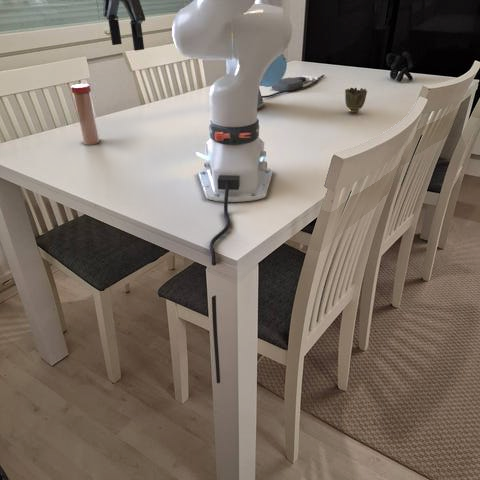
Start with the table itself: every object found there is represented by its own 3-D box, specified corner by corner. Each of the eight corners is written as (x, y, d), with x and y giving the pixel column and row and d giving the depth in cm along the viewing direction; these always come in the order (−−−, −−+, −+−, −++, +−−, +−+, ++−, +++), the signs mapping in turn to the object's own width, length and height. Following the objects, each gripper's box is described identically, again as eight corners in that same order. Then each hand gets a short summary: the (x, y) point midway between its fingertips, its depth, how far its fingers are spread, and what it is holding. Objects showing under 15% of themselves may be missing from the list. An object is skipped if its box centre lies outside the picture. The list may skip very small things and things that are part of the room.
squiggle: (400, 92, 202) (376, 71, 205) (417, 76, 202) (392, 56, 205) (405, 81, 191) (380, 59, 194) (423, 64, 191) (397, 42, 194)
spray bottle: (268, 89, 190) (300, 79, 206) (290, 92, 184) (320, 82, 200) (269, 81, 189) (300, 72, 205) (290, 85, 183) (321, 75, 199)
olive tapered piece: (340, 114, 157) (342, 91, 153) (346, 109, 163) (348, 86, 159) (361, 116, 154) (364, 93, 150) (366, 111, 160) (369, 88, 156)
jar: (88, 145, 135) (76, 90, 126) (81, 142, 138) (69, 87, 129) (102, 142, 137) (91, 87, 129) (95, 138, 140) (84, 84, 132)
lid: (76, 94, 126) (75, 88, 126) (69, 91, 130) (67, 85, 129) (93, 91, 129) (92, 85, 128) (85, 88, 133) (84, 82, 132)
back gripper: (82, -41, 121) (96, 43, 133) (123, -42, 105) (136, 54, 116) (107, -41, 125) (120, 41, 137) (151, -43, 109) (161, 50, 120)
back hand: (127, 47), depth 126 cm, fingers open, 13 cm apart
